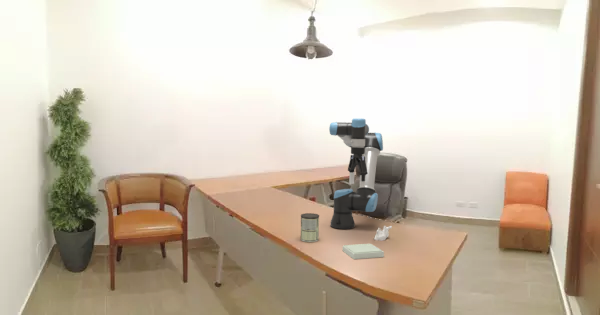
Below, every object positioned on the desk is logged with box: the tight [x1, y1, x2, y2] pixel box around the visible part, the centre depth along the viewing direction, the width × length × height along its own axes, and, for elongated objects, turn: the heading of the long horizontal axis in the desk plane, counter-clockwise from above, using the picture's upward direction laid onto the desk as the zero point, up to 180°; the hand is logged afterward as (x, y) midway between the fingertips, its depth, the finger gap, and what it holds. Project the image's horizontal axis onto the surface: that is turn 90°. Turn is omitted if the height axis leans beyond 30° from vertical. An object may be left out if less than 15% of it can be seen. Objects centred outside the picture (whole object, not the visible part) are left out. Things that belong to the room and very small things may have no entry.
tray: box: [342, 243, 385, 260], centre depth 201 cm, size 14×16×3 cm
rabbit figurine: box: [373, 224, 393, 241], centre depth 226 cm, size 12×8×10 cm, turn 119°
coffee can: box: [300, 212, 320, 243], centre depth 225 cm, size 10×10×14 cm
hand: (356, 185), depth 220 cm, fingers open, 13 cm apart
